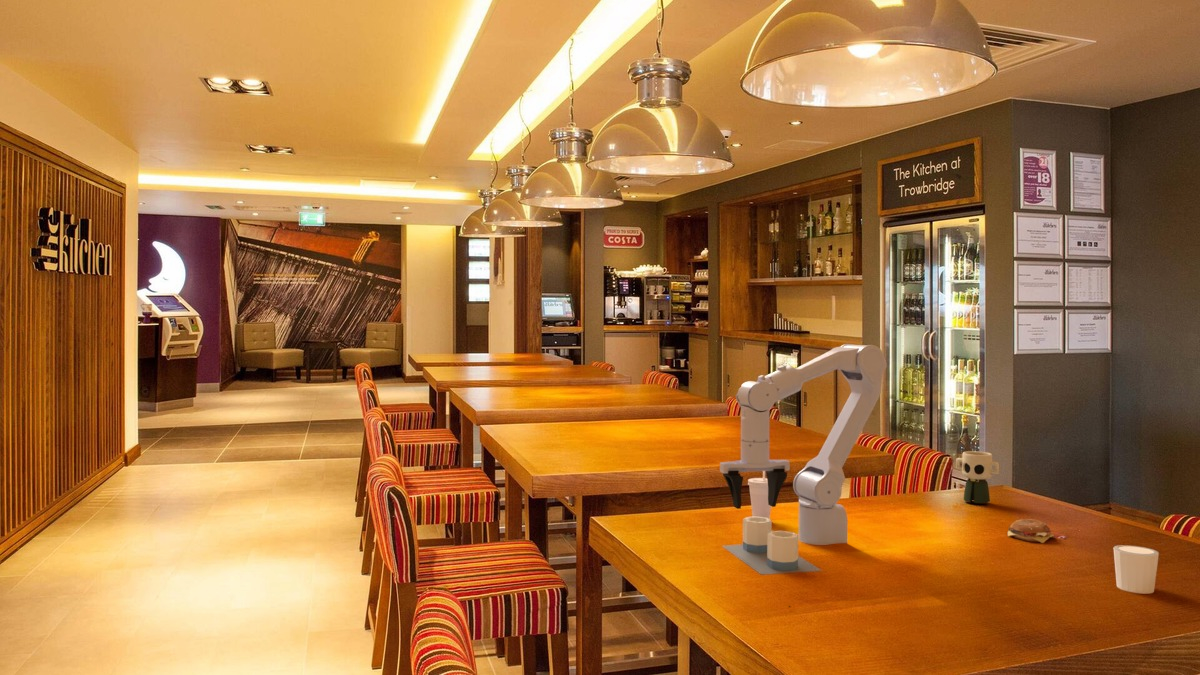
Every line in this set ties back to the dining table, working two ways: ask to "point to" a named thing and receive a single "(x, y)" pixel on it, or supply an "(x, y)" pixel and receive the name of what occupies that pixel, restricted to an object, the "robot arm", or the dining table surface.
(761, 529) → the sleeve
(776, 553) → the seated sleeve
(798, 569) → the pin board
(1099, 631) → the dining table surface
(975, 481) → the character mug
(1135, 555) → the white cup
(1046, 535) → the hamburger
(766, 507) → the smoothie
